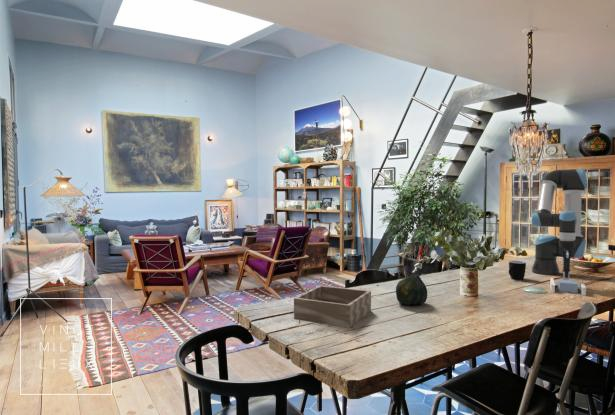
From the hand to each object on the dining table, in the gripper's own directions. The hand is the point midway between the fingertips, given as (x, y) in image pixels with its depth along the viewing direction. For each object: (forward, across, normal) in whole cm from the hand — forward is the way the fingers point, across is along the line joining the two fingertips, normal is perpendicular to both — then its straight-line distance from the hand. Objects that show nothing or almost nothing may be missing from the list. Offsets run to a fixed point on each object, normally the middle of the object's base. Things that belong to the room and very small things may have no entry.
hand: (566, 283), depth 232 cm
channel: (+2, +8, 0) cm, 8 cm away
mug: (+2, -9, -25) cm, 27 cm away
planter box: (+2, +100, -93) cm, 136 cm away
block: (+2, +9, 0) cm, 9 cm away
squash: (+2, +68, -67) cm, 95 cm away
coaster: (+2, +16, -15) cm, 22 cm away
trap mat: (+2, +2, 0) cm, 3 cm away
